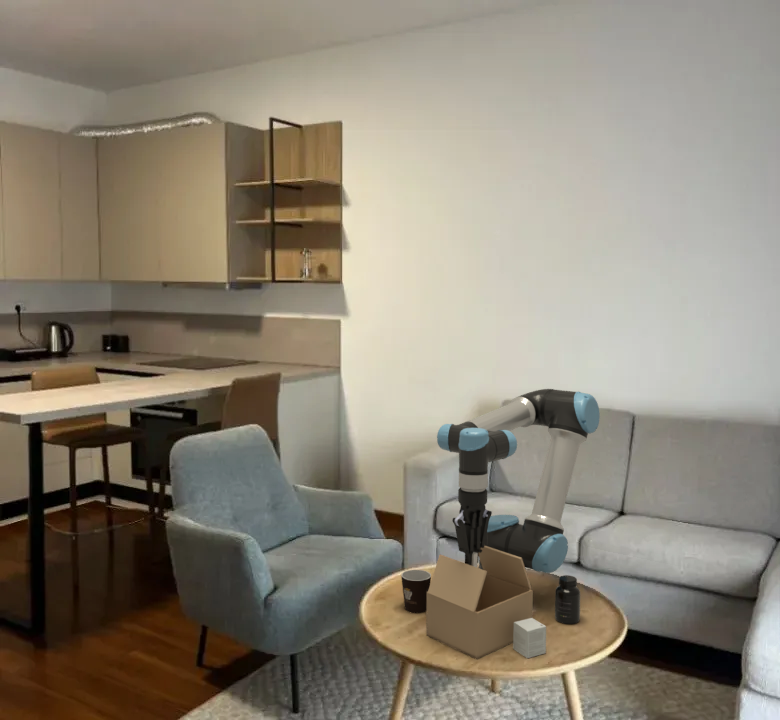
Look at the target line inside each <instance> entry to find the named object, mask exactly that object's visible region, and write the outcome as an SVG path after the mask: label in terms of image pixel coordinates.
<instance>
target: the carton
mask: <svg viewBox="0 0 780 720" xmlns="http://www.w3.org/2000/svg"><path fill="white" fill-rule="evenodd" d="M533 593H534V591H533V590H532V589H527V588H525V587H522V586H519V585H516V584H514V583H511V582H508V581H506V580H503V579H500V578H497V577H495V576H492V575H489V574H486V577H485V580H484V584H483V587H482V590H481V594H480V597H479V600H478V604H477V607H476V610H475V612H473V611H470V610H468V609H465V608H463V607H461V606H458V605H456V604H453V603H451V602H449V601H446V600H444V599H442V598H439V597H437V596H434V595H432V594H430V593H428V592H427V610H426V617H425V618H426V623H425V624H426V627H425V628H426V629H425V630H426V631H425V632H426V633H425V634H426V636H427V637H429V638H431V639H432V640H435V641H437V642H439V643H441V644H444V645H445V646H447V647H450V648H452V649H453V650H455V651H458V652H460V653H462V654H464V655H466V656H469V657H471V658H473V659H475V660H479V659H481V658H484V657H485V656H487V655H490V654H492V653H493V652H497V651H498V650H500V649H503V648H505V647H506V646H508V645H510V644H513V632H514V622H517V621H521V620H525V619H529V618H533V605H534V604H533V603H534V602H533V600H534V598H533V597H534V594H533Z"/></svg>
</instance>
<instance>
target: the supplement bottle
mask: <svg viewBox="0 0 780 720" xmlns="http://www.w3.org/2000/svg"><path fill="white" fill-rule="evenodd" d="M577 586H578V580H577V577H575V576H573V575H569V574H568V575H567V574H565V575H561V576H559V577H558V586H556V588H555V590H554V591H555V593H554V595H555V596H554V598H555V599H554V610H555V611H554V616H555V617H554V619H555V620H556V621H557V622H558V623H560V624H565V625H573V624H577V623H579V622H580V619H581V591H580V588H579V587H577Z"/></svg>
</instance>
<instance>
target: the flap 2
mask: <svg viewBox="0 0 780 720" xmlns="http://www.w3.org/2000/svg"><path fill="white" fill-rule="evenodd" d="M481 550H482V552H481V553H479V557H478V560H479V559H480V562H481V564H482V567H483V570H485V571H487V574H489V575H492V576H495V577H497V578H500V579H503V580H506V581H508V582H511V583H514V584H516V585H519V586H522V587H525V588H527V589H530V590H532V586H531V582H530V579H529V576H528V573H527V572H528V571H527V570H526V567H525V566H524V563H523V560H522V558H521V557H518V556H515V555H512V554H509V553H506V552H503V551H500V550H497V549H494V548H491V547H488V546H484V548H481Z"/></svg>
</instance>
